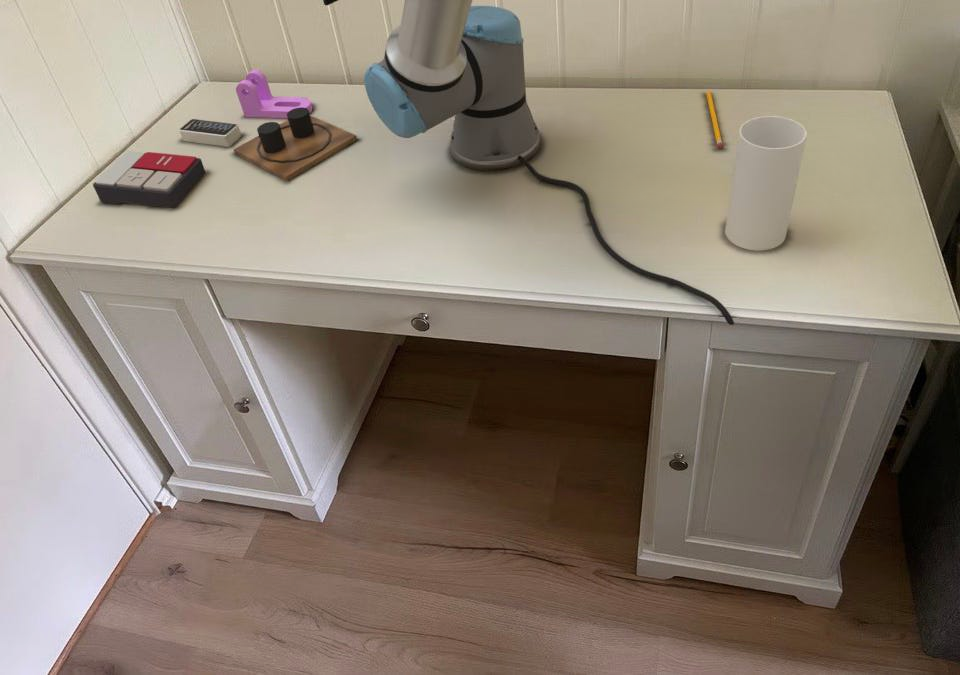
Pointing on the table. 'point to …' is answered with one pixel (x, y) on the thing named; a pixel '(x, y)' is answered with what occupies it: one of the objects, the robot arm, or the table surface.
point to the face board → (297, 149)
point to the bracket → (265, 98)
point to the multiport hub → (210, 132)
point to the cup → (764, 181)
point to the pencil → (714, 120)
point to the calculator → (149, 179)
